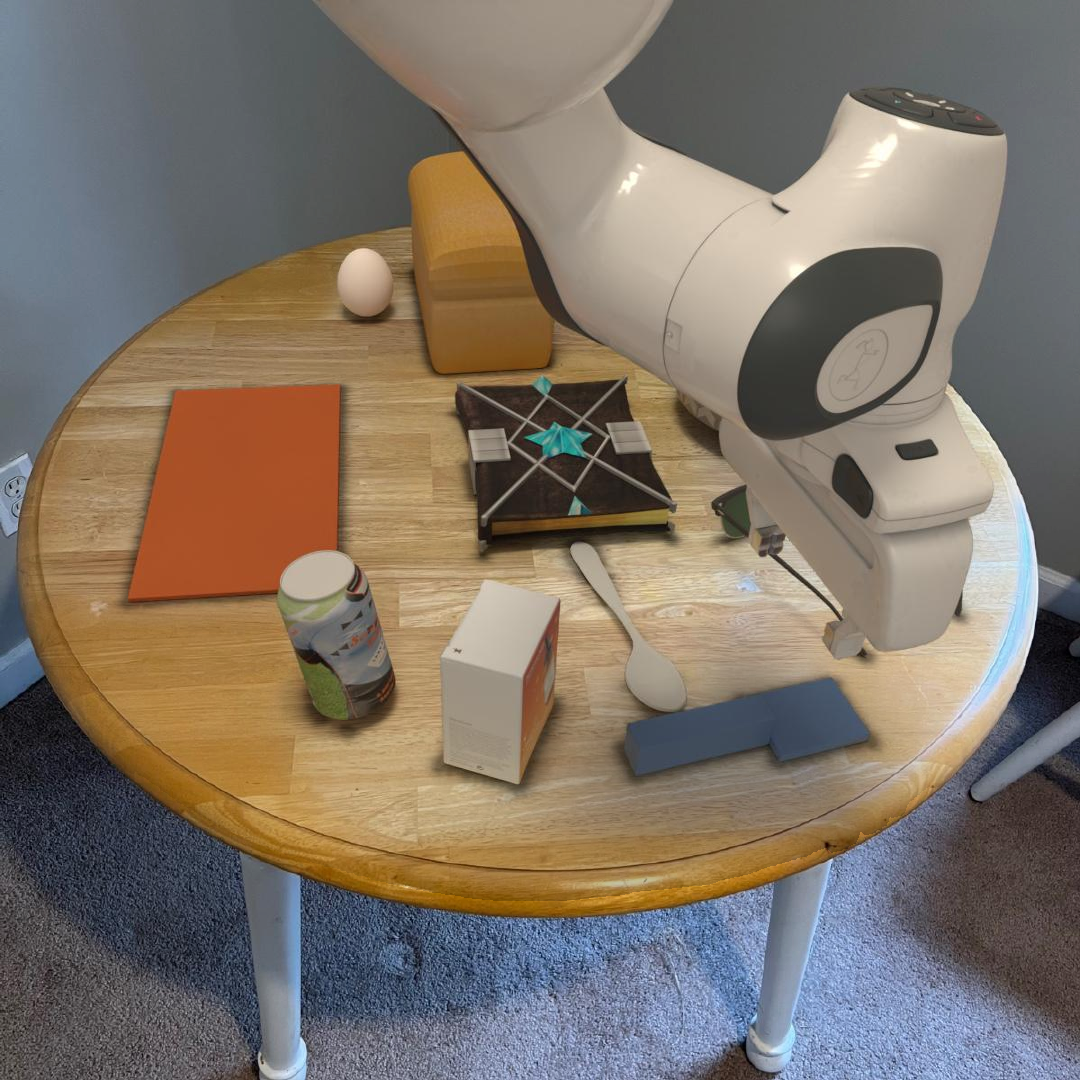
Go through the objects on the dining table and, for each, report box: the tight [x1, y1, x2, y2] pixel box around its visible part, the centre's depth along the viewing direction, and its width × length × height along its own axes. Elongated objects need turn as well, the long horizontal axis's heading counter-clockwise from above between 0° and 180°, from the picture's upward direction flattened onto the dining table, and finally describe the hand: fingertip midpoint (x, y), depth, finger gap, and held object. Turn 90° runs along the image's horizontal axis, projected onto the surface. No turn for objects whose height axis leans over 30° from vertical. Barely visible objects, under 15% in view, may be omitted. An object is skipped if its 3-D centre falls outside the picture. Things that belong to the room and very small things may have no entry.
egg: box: [336, 247, 395, 318], centre depth 119 cm, size 6×6×8 cm
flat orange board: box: [127, 383, 341, 603], centre depth 97 cm, size 30×16×1 cm, turn 7°
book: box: [454, 374, 678, 552], centre depth 98 cm, size 22×17×5 cm
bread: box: [407, 150, 554, 375], centre depth 117 cm, size 24×13×15 cm, turn 10°
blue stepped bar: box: [623, 677, 871, 776], centre depth 76 cm, size 17×6×3 cm, turn 107°
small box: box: [439, 578, 562, 785], centre depth 73 cm, size 8×6×10 cm
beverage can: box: [276, 550, 396, 721], centre depth 75 cm, size 6×7×12 cm
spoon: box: [570, 541, 688, 713], centre depth 84 cm, size 4×21×2 cm, turn 18°
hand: (800, 596), depth 67 cm, fingers open, 8 cm apart
